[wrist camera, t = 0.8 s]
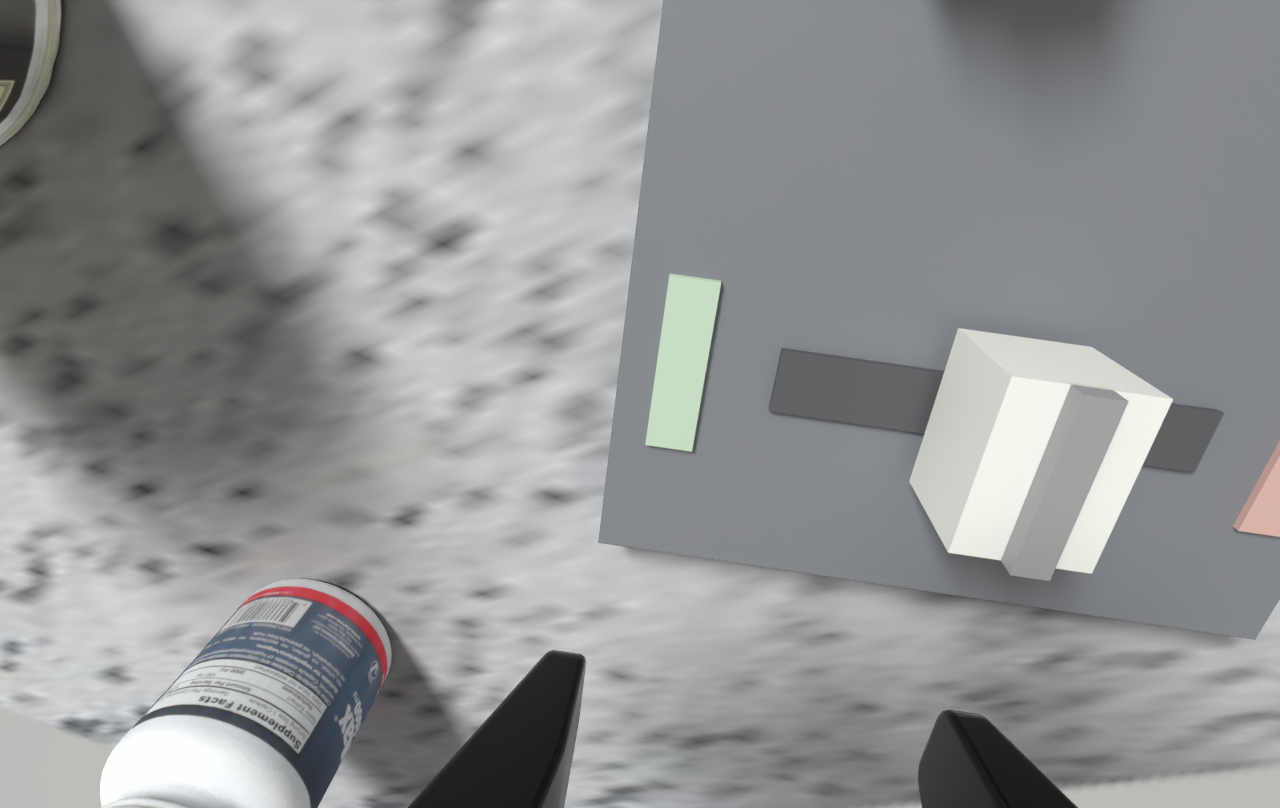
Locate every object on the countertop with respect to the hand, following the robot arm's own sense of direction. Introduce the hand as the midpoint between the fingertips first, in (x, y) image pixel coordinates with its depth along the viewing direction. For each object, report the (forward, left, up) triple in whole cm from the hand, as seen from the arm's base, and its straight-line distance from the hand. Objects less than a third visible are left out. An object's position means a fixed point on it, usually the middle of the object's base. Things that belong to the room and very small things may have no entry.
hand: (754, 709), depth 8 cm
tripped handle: (-7, 0, -10) cm, 12 cm away
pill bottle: (+12, +12, -12) cm, 21 cm away
